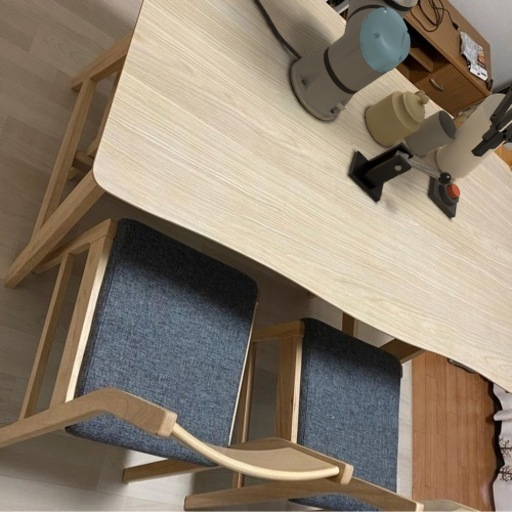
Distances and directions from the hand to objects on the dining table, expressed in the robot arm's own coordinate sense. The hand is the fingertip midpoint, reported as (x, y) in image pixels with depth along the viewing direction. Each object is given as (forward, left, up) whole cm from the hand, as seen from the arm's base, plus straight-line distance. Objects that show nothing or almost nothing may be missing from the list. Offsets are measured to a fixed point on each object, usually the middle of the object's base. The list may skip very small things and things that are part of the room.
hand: (475, 153), depth 126 cm
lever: (-5, -5, -10) cm, 13 cm away
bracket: (-11, -5, -21) cm, 25 cm away
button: (+16, +12, -18) cm, 27 cm away
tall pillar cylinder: (+16, +25, -19) cm, 35 cm away
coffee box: (+16, +36, -22) cm, 45 cm away
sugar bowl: (-11, +16, -22) cm, 29 cm away
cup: (+3, +22, -22) cm, 31 cm away
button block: (+16, +12, -21) cm, 29 cm away
